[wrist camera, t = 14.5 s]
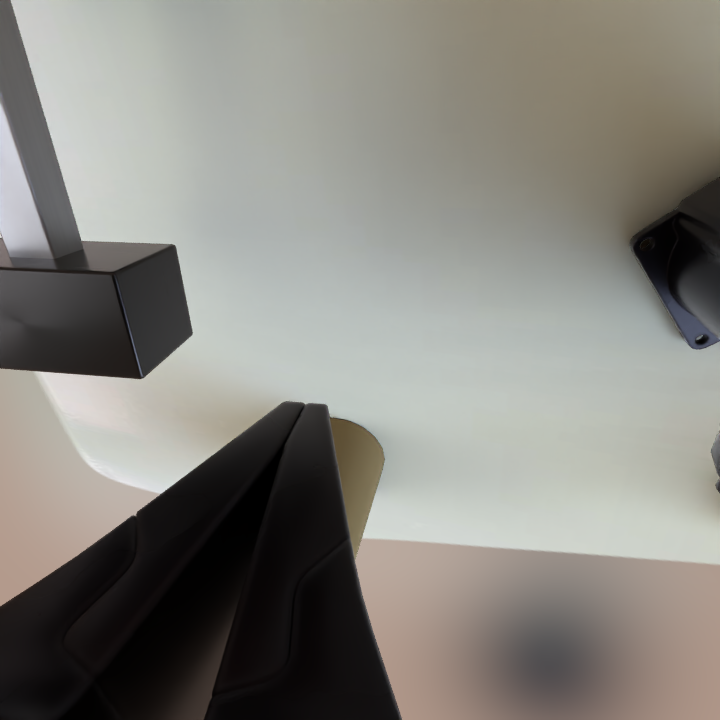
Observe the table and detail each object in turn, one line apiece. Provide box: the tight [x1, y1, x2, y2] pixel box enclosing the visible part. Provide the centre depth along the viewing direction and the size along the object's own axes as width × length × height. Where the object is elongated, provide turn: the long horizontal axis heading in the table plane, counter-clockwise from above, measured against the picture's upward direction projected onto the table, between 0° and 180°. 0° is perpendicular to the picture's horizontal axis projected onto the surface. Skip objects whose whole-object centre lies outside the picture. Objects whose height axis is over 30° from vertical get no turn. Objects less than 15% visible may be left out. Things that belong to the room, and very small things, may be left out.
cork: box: [330, 418, 385, 559], centre depth 23 cm, size 6×6×11 cm
